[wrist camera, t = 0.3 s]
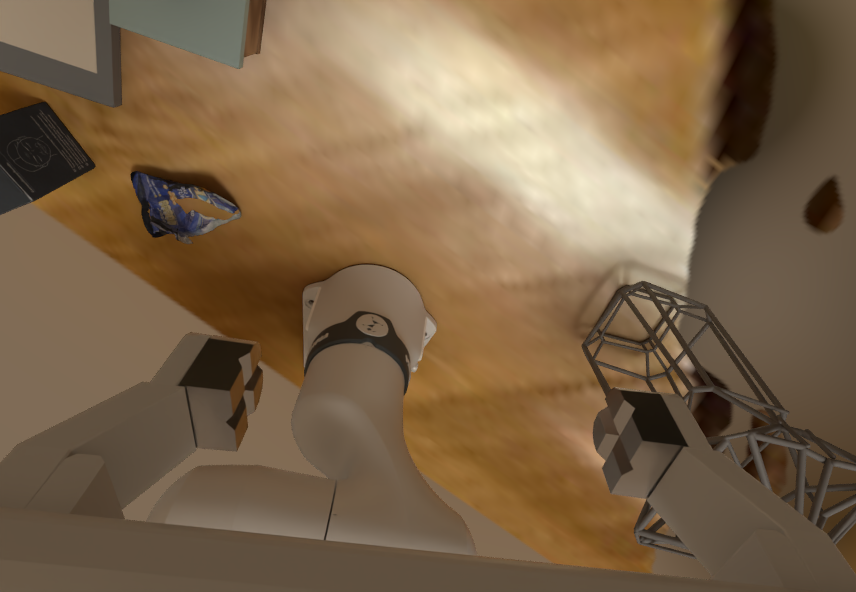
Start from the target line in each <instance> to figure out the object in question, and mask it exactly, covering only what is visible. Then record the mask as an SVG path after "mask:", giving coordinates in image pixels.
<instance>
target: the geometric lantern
mask: <svg viewBox="0 0 856 592" xmlns="http://www.w3.org/2000/svg"><path fill="white" fill-rule="evenodd" d="M642 286H643V287H644V288H645V290H643V289H640V288H641V287H642ZM650 288H651V289H654V290H657V291H659V292H662V293H664V294H667V295H669V296H672V297H675V298H677V299H680V300H682V301H685V302H688V303H690V304H693V305H695V306H692V305H678V304H677V303H676V301H675V300H674V299H673V298H672V297H668V296H665V295H661V294H657V293H654V292H652V290H651V289H650ZM631 290H632V291H631ZM636 291H639V292H643V293H647V294H649V296H650V297H647V296H643V295H639V294H636V293H635V292H636ZM627 292H629V293H628V294H626V293H627ZM630 295H632V296H636V297H639V298H643V299H647V300H651V301H653V302H654V304H655V305H656V307H657V309H658V310H659V312H660V313H661V315H662V316H663V319H662V321H661V322H660V324H659V325H658V327H657V328H656V329H655V331H654V332H653V330H652V329H651V327H650V326H649V325H648V323H647V322H646V321H645V319H644V318H643V316H642V315H641V314H640V312H639V311H638V309H637V308H636V307H635V305H634V304H633V303H632V301H631V300H630V299H629V297H628V296H630ZM656 296H658V297H661V298H665V299H669V300H670V301H671V302H672V303H669V302H665V301H662V300H658V299H657V298H656ZM621 298H622V299H621ZM620 299H621V301H620V303H619V304H618V306H617V308H616V309H615V311H614V313H613V314H612V316H611V318H610V319H609V321H608V323H607V324H606V326H605V328H604V329H603V331H602V333H601V332H600V330H599V327H600V326H601V325H602V323H603V322H604V321H605V319H606V318H607V317H608V315H609V314H610V312H611V311H612V310H613V308H614V307H615V306H616V304H617V303H618V301H619V300H620ZM624 300H625V301H626V302H627V304H628V305H629V306H630V308H631V309H632V311H633V312H634V314H635V315H636V316H637V318H638V319H639V321H640V322H641V323H642V325H643V326H644V328H645V329H646V331H647V332H648V333H649V335H650V336H651V337H650V338H649V339H648V340H646V341H644V342H642V343H639V342H635V341H631V340H628V339H624V338H620V337H616V336H612V335H608V334H604V333H605V332H606V330H607V328H608V327H609V325H610V323H611V322H612V320H613V318H614V317H615V315H616V313H617V312H618V310H619V308H620V307H621V305H622V303H623V302H624ZM660 303H662V304H666V305H669V306H672V307H671V308H670V309H669V311H668V312H667V313H666V311H665V310H664V308H663V307H662V305H661V304H660ZM674 308H675V309H676V311H677V312H676V314H675V316H674V317H673V319H672V320H671V319H670V318H669V315H670V313H671V312H672V310H673V309H674ZM680 308H695V309H704V310H705V313H706V317H707V319H705V318H702V317H700V316H696V315H694V314H691V313H688V312H685V311H683V310H681V309H680ZM680 313H683V314H685V315H688V316H691V317H694V318H697V319H699V320H702V321H705V322H706V324H705V325H704V326H703V327H702V329H701V330H700V331H699V332H698V333H697V334H696V336H695V337H694V338H693V339H692V340H691V342H690V343H689V344H688V345H687V343H686V342H685V340H684V339H683V337H682V336H681V334H680V333H679V331H678V330H677V328H676V327H675V325H674V324H673V323H674V321H675V320H676V318H677V317H678V315H679V314H680ZM665 321H666V323H667V324H668V326H667V328H666V330H665V331H664V333H663V334H662V336H661V337H660V339H658V337H657V336H656V333H657V332H658V330H659V329H660V327H661V326H662V324H663V323H664V322H665ZM712 321H713V322H714V323H715V325H716V326H717V328H718V329H719V330H720V332H721V333H722V334H723V336H724V337H725V338H726V340H727V341H728V342H729V344H730V345H731V347H732V348H733V349H734V351H735V352H736V354H737V355H738V356H739V358H740V359H741V360H742V362H743V363H744V364H745V366H746V367H747V369H748V370H749V371H750V373H751V374H752V375H753V377H754V378H755V380H756V381H757V382H758V384H759V385H760V386H761V388H762V389H763V391H764V392H765V393H766V395H767V396H768V397H769V399H770V400H771V402H772V403H773V404H774V406H773V405H770V404H768V403H767V401H766V400H765V398H764V397H763V395H762V394H761V392H760V391H759V389H758V388H757V387H756V385H755V384H754V382H753V381H752V379H751V378H750V376H749V375H748V373H747V372H746V370H745V369H744V368H743V366H742V365H741V363H740V362H739V360H738V359H737V358H736V356H735V354H734V353H733V352H732V350H731V349H730V347H729V346H728V344H727V343H726V341H725V340H724V338H723V337H722V336H721V334H720V333H719V331H718V330H717V328H716V327H715V326H714V324H713V323H712ZM709 326H710V328H711V329H712V331H713V332H714V334H715V335H716V337H717V338H718V340H719V341H720V343H721V344H722V346H723V347H724V349H725V350H726V352H727V353H728V354H729V356H730V358H731V359H732V361H733V362H734V363H735V365H736V367H737V368H738V369H739V371H740V372H741V374H742V376H743V377H744V378H745V380H746V381H747V383H748V384H749V386H750V387H751V389H752V390H753V392H754V393H755V395H756V396H757V398H758V399H759V401H758V400H755V399H752V398H749V397H746V396H743V395H740V394H737V393H734V392H731V391H728V390H725V389H722V388H719V387H716V386H714V385H713V383H712V382H711V380H710V379H709V377H708V376H707V374H706V372H705V371H704V369H703V368H702V366H701V365H700V363H699V362H698V360H697V359H696V357H695V356H694V354H693V353H692V351H691V350H690V349H691V347H692V346H693V345H694V344H695V343H696V342H697V340H698V339H699V338H700V337H701V336H702V334H703V333H704V332H705V331H706V329H707V328H708V327H709ZM669 329H671V330H672V332H673V334H674V335H675V337H676V338H677V340H678V341H679V343H680V344H681V346H682V348H683V349H684V350H683V351H682V352H681V354H680V355H679V356H678V357H677V358H676V360H675V361H674V359H673V358H672V357H671V355H670V354H669V352H668V351H667V350H666V348H665V347H664V346H663V344H662V343H661V341H662V340H663V338H664V337H665V335H666V334H667V332H668V330H669ZM596 332H598V334H599V336H598V337H596V338H595V339H593V340H591V338H592V337H593V336H594V334H595V333H596ZM603 336H605V337H609V338H613V339H617V340H621V341H625V342H629V343H633V344H637V345H642V347H643V349H644V350H643V349H638V348H634V347H630V346H626V345H621V344H617V343H613V342H609V341H605V339H604V337H603ZM598 339H601V343H600V345H599V346H598V348H597V350H596V352H595V354H594V356H593V357H592V355H591V353H590V352H589V350H588V348H587V346H589V345H591V344H592V343H594V342H595V341H597V340H598ZM652 339H653V341H654V342H655V343H656V345H655V346H654V344H653V343H652V341H651V340H652ZM590 340H591V341H590ZM589 341H590V342H589ZM648 342H649V343H650V345H651V346H652V348H653V349H650V350H647V349H646V347H645V345H644V344H646V343H648ZM603 343H605V344H610V345H614V346H618V347H623V348H627V349H631V350H635V351H640V352H644V353H646V372H647V377H645V376H642V375H639V374H636V373H633V372H630V371H627V370H624V369H621V368H618V367H615V366H612V365H609V364H606V363H603V362H600V361H597V360H595V358H596V356H597V354H598V352H599V351H600V349H601V347H602V345H603ZM657 347H658V348H659V349H660V350H661V352H662V353H663V355H664V356H665V358H666V359H667V360H668V362H669V363H670V367H669V368H668V369H667V368H666V366H665V365H664V363H663V361H662V360H661V358H660V357H659V355H658V354H657V352H656V351H655V350H656V349H657ZM582 349H583V352H584V354H585V356H586V358H587V360H588V361H589V363H590V365H591V367H592V369H593V371H594V373H595V375H596V377H597V379H598V381H599V383H600V385H601V387H602V389H603V391H604V393H605V395H606V396H607V394H608V392H609V391H610V390H611V388H610V387H609V385H608V383H607V381H606V380H605V378H604V376H603V374H602V373H601V371H600V369H599V367H598V366H597V365H600V366H603V367H606V368H609V369H612V370H615V371H618V372H621V373H624V374H627V375H630V376H633V377H636V378H639V379H642V380H645V381H646V383H647V385H648V386H649V388H650V390H651V391H652V392H656V390H655V388H654V387H653V385H652V383H651V382H650V380H654V379H657V378H661V377H664V376H667V378H668V380H669V382H670V384H671V386H672V388H673V390H674V392H675V394H677V395H679V396H680V397H681V398H682V399H683V400H684V402H686V400H687V399H688V398H689V400H688V405H687V404H686V403H685V404H686V405H687V407H688V409H689V411H690V410H691V404H692V399H693V394H694V393H699V392H710V391H713V392H714V393H716V394H718V395H720V396H721V397H723V398H725V399H726V400H728V401H730V402H732V403H733V404H735V405H737V406H739V407H740V408H742V409H744V410H746V411H747V412H749V413H751V414H753V415H754V416H756V417H758V418H760V419H761V420H763V421H765V422H767V423H768V424H770V425H767V426H763V427H759V428H755V429H751V430H748V431H745V432H741V433H736V434H731V435H726V436H718V437H710V438H706V439H707V441H708V443H709V444H718V445H717V446H716V447H715V448H714V449H713V451H720V452H721V453H722V452H723V450H724V449H725V448H726V447H728V449H729V451H730V453H731V455H732V458H733V460H734V462H735V464H737V465H738V466H739V467H741V468H743V467H744V466H745V465H747V464H748V463H749V462H750V461H751V460H752V459H754V462H755V465H756V468H757V472H758V475H759V478H760V481H761V484H763V485H764V486H765V487H766V488H768V489H769V490H770V491H772V489H771V485H770V482H769V479H768V476H767V473H766V470H765V467H764V463H763V460H762V457H761V454H760V452H761V451H762V450H763V449H764V448H765V447H766V446H767V445H768V444H770V443H773V444H777V445H782V446H786V447H788V449H789V451H790V454H791V457H792V459H793V462H794V464H795V467H796V469H797V474H796V475H797V476H796V489H795V490H793V491H792V492H790V493H788V494H787V495H785V496H783V497H782V498H781V499H782V500H783V501H785V502H786V503H787V502H789V501H790V500H792V499H794V498H795V510H796V511H798V512H799V513H800V514H801V515H803V506H804V493H805V492H806V493H807V495H808V496H809V498H810V499H811V501H812V502H813V503H812V506H811V510H810V513H809V517H808V520H809V521H810V522H812V523H813V524H814V525H816V526H817V527H818V528H820V529H821V530H822V529H823V527H824V525H825V523H826V520H827V518H828V517H829V516H831V515H833V514H835V513H837V512H839V511H841V510H843V509H845V508H847V507H849V506H851V505H853V504H855V503H856V494H855V495H853V496H851V497H849V498H847V499H845V500H843V501H841V502H839V503H837V504H835V505H833V506H832V507H830V508H828V509H826V510H824V511H823V509H822V508H821V506H822V502H823V499H824V495H825V492H829V491H853V490H856V484H836V485H828V481H829V479H830V475H831V472H832V468H833V466H836V467H840V468H844V469H849V470H853V471H856V464H853V463H848V462H844V461H839V460H835V458H836V456H835V455H834V454H833V453H832V452H834V453H836V454H838V455H840V456H842V457H844V458H846V459H848V460H850V461H852V462H854V463H856V456H855V455H852V454H850V453H848V452H847V451H845V450H842V449H840V448H838V447H836V446H834V445H832V444H830V443H828V442H826V441H824V440H822V439H820V438H818V437H816V436H815V435H814V434H813V433H812V432H811V431H810V430H808V429H806V430H805V431H804V430H801V429H798V428H793V427H790V426H789V425H788V424H787V423H786V422H785V420H786V417H787V414H789V411H787V410H785V409H784V408H783V407H782V405H781V404H780V402H779V401H778V400H777V398H776V397H775V396H774V394H773V393H772V392H771V390H770V389H769V388H768V386H767V385H766V384H765V382H764V381H763V380H762V378H761V377H760V376H759V374H758V373H757V372H756V370H755V369H754V368H753V366H752V365H751V364H750V362H749V361H748V360H747V358H746V357H745V356H744V354H743V353H742V352H741V350H740V349H739V348H738V346H737V345H736V344H735V342H734V341H733V340H732V338H731V337H730V336H729V334H728V333H727V332H726V330H725V329H724V327H723V326H722V325H721V324H720V322H719V321H718V319H717V318H716V317H715V315H714V314H713V313H712V311H711V310H710V309H709V307H708V306H707V305H705V304H702V303H700V302H697V301H695V300H692V299H689V298H687V297H684V296H682V295H679V294H677V293H674V292H671V291H669V290H666V289H664V288H661V287H659V286H656V285H653V284H651V283H648V282H646V281H641V282H638V283H636V284H634V285H632V286H627V285H626V286H624V287H623V288H621V289H620V290H618V291H617V293H616V294H615V296H614V298H613V299H612V301H611V303H610V304H609V306H608V307H607V309H606V311H605V312H604V314H603V316H602V317H601V319H600V320H599V322H598V323H597V324H596V326H595V327H594V328H593V330H592V331H591V333H590V334H589V335H588V337H587V338H586V340H585V341H584V342H583V344H582ZM649 352H653V353H654V354H655V356H656V357H657V359H658V360H659V362H660V364H661V365H662V367H663V368H664V370H665V372H663V373H660V374H657V375H653V376H650V373H649ZM686 354H687V355H688V357H689V359H690V360H691V362H692V363H693V365H694V366H695V368H696V369H697V371H698V372H699V374H700V375H701V377H702V378H703V380H704V381H705V383H706V384H707V386H700V387H693V386H692V385H691V383H690V382H689V380H688V379H687V378H686V376H685V375H684V373H683V372H682V370H681V369H680V368H679V366H678V365H677V364H678V363H679V362H680V360H681V359H682V358H683V357H684V356H685V355H686ZM673 369H674V370H675V372H676V373H677V375H678V376H679V378H680V379H681V380H682V382H683V383H684V385H685V386H686V388H687V389H688V390H689V392H688V393H687V394H686V395H685V396H684V397H682V395H681V394H680V392H679V390H678V388H677V386H676V384H675V382H674V380H673V379H672V377H671V375H670V372H671V371H672V370H673ZM730 395H731V396H730ZM732 396H734V397H736V398H740V399H742V400H745V401H748V402H751V403H754V404H757V405H761V406H763V407H764V408H765V410H766V411H767V413H768V414H769V416H770V417H771V418H769V417H768V416H766V415H764V414H762V413H760V412H759V411H757V410H755V409H753V408H752V407H750V406H748V405H746V404H744V403H743V402H741V401H739V400H737V399H736V398H734V397H732ZM773 410H775V411H778V412H780V415H777V416H776V414H775V413H774V412H773ZM692 416H693V415H692ZM773 431H776V432H775V433H774V434H773V435H772V436H770V435H766V433H770V432H773ZM781 433H783V435H784V438H785V439H782V438H778V437H777V436H778V435H779V434H781ZM789 433H790V434H791V435H792V436H793V437H795V438H796V439H797V440H798V441H799V442H800V443H799V442H795V441H792V440H791V437H790V435H789ZM799 435H800V436H799ZM742 436H746V437H747V440H748V443H749V447H750V450H751V453H752V454H751V455H750V456H749V457H748V458H747V459H746V460H744V461H743V462H742V463H741V464H740V463H739V461H738V459H737V456H736V454H735V452H734V450H733V448H732V445H731V443H730V441H729V439H733V438H738V437H742ZM801 436H802V437H804V438H806V439H808V440H810V441H812V442H814V443H816V444H817V445H818V446H819V447H820V448H821V449H822V450H823V451H825V453H826V454H827V455H828V456H829V457H830V458H831V459H830V458H828V459H827V458H826V457H824V456H822V455H820V454H818V453H816V452H814V451H812V450H810V449H808V448H810V444H808V443H807V442H806V441H805V440H804V439H803V438H802V437H801ZM756 440H760V441H764V443H763V444H762V445H761V446H760V447H759V448H758V445H757V441H756ZM795 449H796V450H797V451H798V456H797V453H796V450H795ZM831 451H832V452H831ZM806 455H807V456H809V457H812V458H814V459H816V460H818V461H820V462H822V463H824V466H823V470H822V473H821V476H820V480H819V483H818V485H817V486H809V484H808V482H807V479H806V477H805V469H806ZM811 492H816V493H815V496H813V494H812V493H811ZM647 500H648V499H646V502H645V504H644V506H643V509H642V511H641V513H640V516H639V518H638V520H637V523H636V525H635V527H634V534H635V537H636V540H637V543H638V544H640V545H644V546H648V547H652V548H656V549H660V550H664V551H667V552H671V553H675V554H678V555H682V556H686V557H690V558H694V559H697V558H696V557H695V556H694V555H693V554H689V553H685V552H681V551H677V550H674V549H670V548H666V547H662V546H658V545H654V544H671V545H674V546H678V547H681V548H685V549H688V548H687V547H686V546H685V544H684V543H683V542H682V541H681V540H680V539H679V537H678V536H677V535H676V537H671V536H667V535H664V534H660V533H656V531H657V530H658V529H659V528H660V527H662V526H663V525H664V524H665V523H666V522H665V521H664V520H663V519H662V518H660V519H659V520H658V521H657V522H656V523H654V524H653V525H652V526H651V527H650V528H649V529H648V530H645V529H644V528H645V527H646V525H647V524H648V523H649V522H650V520H651V519H652V518H653V517H654V515H655V514H656V513H657V512H656V511H655V510H654V509H653V507H652V508H651V505H650V504H649V503H648V502H647ZM650 508H651V509H650ZM818 516H819V518H818ZM855 523H856V506H855V507H854V508H853V509H852V510H851V511H850V512H849V513H848V514H847V515H846V516H845V517H844V518H843V519H842V520H841V521H840V522H839V523H838V524H837V525H836V526H835V527H834V528H833V529H832V530H831V531H830V532H829V533H828V534H827V535H828V536H829V537H830V539H831V540H832V541H833V543H834V544H835V545H836V543H837V542H838V541H839V540H840V539H841V538H842V537H843V536H844V535H845V534H846V532H847V531H848V530H849V529H850V528H851V527H852V526H853V525H854V524H855ZM639 535H640V538H639ZM640 540H641V541H640ZM688 550H689V549H688Z"/></svg>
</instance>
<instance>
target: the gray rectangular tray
mask: <svg viewBox="0 0 856 592" xmlns="http://www.w3.org/2000/svg"><path fill="white" fill-rule="evenodd" d="M0 71H2V72H5V73H8V74H12V75H15V76H18V77H21V78H24V79H27V80H30V81H33V82H36V83H39V84H42V85H45V86H48V87H51V88H55V89H58V90H61V91H64V92H67V93H70V94H73V95H76V96H79V97H82V98H85V99H88V100H91V101H95V102H98V103H101V104H104V105H107V106H110V107H113V108H115V107H117V106H120V105H122V90H121V49H120V27H118V26H115V25H112V24H110V18H109V0H0Z"/></svg>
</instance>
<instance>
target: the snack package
mask: <svg viewBox="0 0 856 592" xmlns="http://www.w3.org/2000/svg"><path fill="white" fill-rule="evenodd" d="M130 176H131V180H132V183H133V187H134V189H135V191H136V196H137V197H138V199H139V201H140V203H141V204H142V218H143V221H144V225H145V227H146V228H147V231H148V232H149V233H150V234H151V235H152V237H154V238H156V237H161V236H163V235H166V234H175V236H176V239H177V240H178V241H181V242H183V243H186V244H192V242H191V240H190V239H189V238H188V237H189V236H191V237H192V236H194V235H203V234H205V233H207V232H210V231H212V230H214V228H216V227H217V226H219V225H221V224H225V223H227V222H229V221H231V220H234V219H238V218H240V217H241V212H239V213H238V214H236V215H233V216H232V217H231V218H230V219H228V220H220V219H214V218H213V217H207V216H204V215H202V214H200V213H198V212H195V211H194V210H192V211H190V212H189V213H188V214H186V213H185V212H184V211H183V209H182V208H181V206H180V205H178V204H177V203H176V202H175V201H174V200H175V199H183V198H196V199H200V200H203V201H206V202H208V203H210V204H213V205H214V206H216V207H218V208H219V209H223V210H226V211H228V212H230V213H235V211H236V210H237V209H239V208H238V207H236V206H235V205H234V204H233V203H231V202H229V201H228V200H226V199H224V198H222V197H220V196H219V195H217V194H216V193H214V192H210V191H208V190H206V189H205V188H203V187H199V186H195V185H191V184H181V183H178V182H173V181H171V180H170V181H169V180H165V179H161V178H157V177H153V176H150V175H148V174H145V173H141V172H139V171H134V172H132V173H131V175H130ZM148 202H149V203H148ZM149 204H150V207H149ZM149 209H150V217H149V213H148V212H147V211H148V210H149ZM239 211H240V210H239Z"/></svg>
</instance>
